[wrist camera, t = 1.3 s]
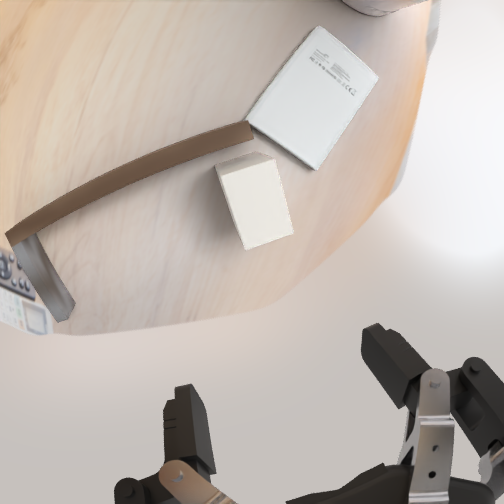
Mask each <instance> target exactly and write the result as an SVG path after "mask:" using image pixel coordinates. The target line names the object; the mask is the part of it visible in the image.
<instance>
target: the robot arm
mask: <svg viewBox="0 0 504 504" xmlns="http://www.w3.org/2000/svg"><path fill="white" fill-rule="evenodd" d="M342 1H343V2H344V3H346V4H347V5H349V6H350V7H352V8H353V9H355V10H357V11H359V12H361V13H364V14H367V15H372V16H382V15H386V14H388V13H391V12H395V11H397V10H399V9H402V8H405V7H408V6H411V5H414V4H417V3H421V2H424V1H427V0H342ZM361 354H362V358H363V360H364V362H365V363H366V365H367V366H368V367H369V369H370V370H371V371H372V373H373V374H374V376H375V377H376V378H377V380H378V381H379V383H380V384H381V385H382V387H383V388H384V390H385V391H386V392H387V394H388V395H389V397H390V398H391V399H392V400H393V402H394V404H395V405H396V406H397V408H398V409H400V408H402V407H403V406H405V405H406V406H407V408H408V413H407V421H406V428H405V435H404V441H403V446H402V449H401V452H400V455H399V458H398V463H397V465H389V466H385V465H384V463H382V464H380V465H378V466H376V467H374V468H372V469H370V470H367V471H365V472H363V473H361V474H360V475H358V476H357V477H356V478H354V479H353V480H352V481H350V482H349V483H347V484H346V485H345V486H343V487H342V488H340V489H338V490H333V491H327V492H320V493H313V494H308V495H305V496H302V497H299V498H296V499H292V500H289V501H286V504H495V500H496V499H497V498H499V497H500V496H501V495H502V494H503V493H504V383H503V382H502V381H501V380H500V378H499V377H498V376H497V375H496V374H495V373H494V372H493V370H492V369H491V368H490V367H489V366H488V365H487V364H486V363H485V361H483V360H482V359H480V358H478V357H471V358H468V359H467V360H466V361H465V362H464V364H463V366H462V367H461V368H458V369H455V370H451V371H447V372H444V371H443V370H440V369H432V368H431V367H430V366H429V365H428V364H427V363H426V362H425V360H424V359H423V358H422V357H421V356H420V355H419V354H418V353H417V352H416V351H415V349H414V348H413V347H411V345H410V344H409V343H408V342H406V340H405V339H404V338H403V337H402V336H401V334H400V333H398V332H396V331H394V330H392V329H389V330H387V331H386V330H385V329H384V328H383V327H382V326H381V325H380V324H379V323H376V324H374V325H371V326H369V327H367V328H364V329H363V331H362V344H361ZM450 413H451V414H452V416H453V417H454V418H455V420H456V421H457V423H458V424H459V426H460V427H461V428H462V430H463V431H464V433H465V434H466V436H467V438H468V439H469V441H470V442H471V444H472V445H473V447H474V448H475V450H476V451H477V453H478V455H479V456H480V458H481V459H480V462H479V470H478V472H479V474H480V475H481V482H475V481H470V480H465V479H460V478H455V477H451V476H450V474H451V466H452V456H453V444H454V420H453V419H451V418H450ZM163 418H164V419H163V420H164V424H163V425H164V452H165V461H164V464H163V466H162V467H161V468H160V470H159V471H158V472H157V473H156V474H154V475H152V476H149V477H147V478H144V479H141V480H139V481H138V480H136V479H133V478H124V479H121V480H120V481H119V482H118V483H117V484H116V486H115V489H114V498H115V504H237V503H236V502H235V501H233V500H232V499H230V498H229V497H228V496H226V495H225V494H224V493H222V492H221V491H219V490H218V489H217V488H216V487H214V486H213V485H212V484H211V480H210V475H212V474H216V468H215V463H214V458H213V452H212V446H211V440H210V433H209V427H208V420H207V413H206V409H205V406H204V404H203V402H202V400H201V398H200V397H199V395H198V393H197V392H196V390H195V388H194V387H193V385H192V384H188V385H183V386H178V387H175V399H172V400H168V401H167V403H166V405H165V408H164V410H163Z"/></svg>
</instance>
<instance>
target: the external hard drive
mask: <svg viewBox="0 0 504 504" xmlns="http://www.w3.org/2000/svg"><path fill="white" fill-rule="evenodd" d="M378 79H379V78H378V76H377V75H376V74H375V73H374V72H373V71H372V70H371V69H370V68H369V67H368V66H367V65H366V64H365V63H364V62H363V61H362V60H361V59H360V58H358V57H357V56H356V55H355V54H354V53H353V52H352V51H351V50H350V49H349V48H347V47H346V46H345V45H344V44H343V43H342V42H340V41H339V40H338V39H337V38H335V37H334V36H333V35H332V34H331V33H329V32H328V31H327V30H326V29H324V28H323V27H321V26H317V27H316V28H315V29H314V30H313V31H312V32H311V33H310V34H309V36H308V37H307V38H306V39H305V40H304V42H303V43H302V44H301V45H300V46H299V48H298V49H297V50H296V51H295V53H294V54H293V55H292V56H291V57H290V59H289V60H288V61H287V62H286V64H285V65H284V66H283V68H282V69H281V70H280V72H279V73H278V74H277V75H276V77H275V78H274V79H273V81H272V82H271V83H270V85H269V86H268V87H267V89H266V90H265V91H264V93H263V94H262V95H261V97H260V98H259V100H258V101H257V102H256V104H255V105H254V107H253V108H252V109H251V111H250V112H249V114H248V115H247V116H246V118H245V119H244V121H246V120H248V121H249V124H250V126H252V127H253V128H255V129H256V130H258V131H259V132H261V133H262V134H264V135H265V136H267V137H268V138H270V139H271V140H273V141H274V142H276V143H277V144H278V145H280V146H281V147H283V148H284V149H286V150H287V151H288V152H290V153H291V154H293V155H294V156H295V157H297V158H298V159H299V160H301V161H302V162H303V163H305V164H306V165H307V166H309V167H310V168H311V169H313V170H316V171H317V170H318V168H319V167H320V165H321V164H322V162H323V161H324V159H325V158H326V156H327V155H328V153H329V152H330V151H331V149H332V148H333V146H334V145H335V143H336V142H337V140H338V139H339V137H340V136H341V134H342V133H343V131H344V130H345V128H346V127H347V125H348V124H349V122H350V121H351V120H352V118H353V117H354V115H355V114H356V112H357V111H358V109H359V108H360V106H361V105H362V103H363V102H364V100H365V98H366V97H367V96H368V94H369V93H370V91H371V90H372V88H373V87H374V85H375V84H376V82H377V81H378Z"/></svg>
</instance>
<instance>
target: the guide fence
mask: <svg viewBox="0 0 504 504" xmlns="http://www.w3.org/2000/svg"><path fill="white" fill-rule="evenodd" d="M252 139H254V138H253V134H252V131H251V128H250V124H249V121H248V120H246V121H240V122H237V123H233V124H230V125H227V126H224V127H220V128H217V129H214V130H211V131H208V132H205V133H202V134H199V135H196V136H194V137H191V138H188V139H185V140H182V141H180V142H177V143H174V144H172V145H169V146H167V147H164V148H162V149H159V150H157V151H154V152H152V153H149V154H147V155H145V156H142V157H140V158H138V159H135V160H133V161H131V162H129V163H126V164H124V165H122V166H120V167H118V168H116V169H113V170H111V171H109V172H107V173H105V174H103V175H101V176H99V177H97V178H95V179H93V180H91V181H89V182H87V183H85V184H83V185H82V186H80V187H78V188H76V189H74V190H72V191H70V192H69V193H67V194H65V195H63V196H62V197H60V198H58V199H56V200H55V201H53V202H51V203H49V204H48V205H46V206H44V207H43V208H41V209H40V210H38V211H36V212H35V213H33V214H32V215H30V216H29V217H27V218H25V219H24V220H22V221H21V222H19V223H18V224H17V225H15V226H14V227H13V228H11V229H10V230H9V231H7V232H6V233H5V235H6V237H7V239H8V241H9V243H10V245H11V247H12V249H13V251H14V253H15V255H16V257H17V259H18V260H19V262H20V264H21V266H22V268H23V269H24V271H25V273H26V275H27V276H28V278H29V280H30V281H31V283H32V285H33V286H34V288H35V290H36V291H37V293H38V294H39V296H40V297H41V299H42V301H43V302H44V304H45V305H46V307H47V308H48V309H49V311H50V312H51V314H52V315H53V317H54V318H55V320H56V321H57V322H58V323H59V322H61V321H64V320H67V319H68V318H69V315H70V313H71V311H72V309H73V307H74V305H75V302H74V300H73V298H72V297H71V295H70V294H69V292H68V291H67V289H66V287H65V286H64V284H63V283H62V281H61V279H60V278H59V276H58V274H57V272H56V271H55V269H54V267H53V265H52V264H51V262H50V260H49V258H48V256H47V255H46V253H45V251H44V249H43V247H42V245H41V243H40V241H39V239H38V237H37V235H36V232H38V231H39V230H41V229H43V228H44V227H46V226H48V225H50V224H51V223H53V222H55V221H57V220H59V219H60V218H62V217H64V216H66V215H68V214H70V213H72V212H73V211H75V210H77V209H79V208H81V207H83V206H85V205H87V204H89V203H91V202H93V201H95V200H97V199H99V198H101V197H103V196H105V195H108V194H110V193H112V192H114V191H116V190H118V189H121V188H123V187H125V186H127V185H129V184H132V183H134V182H136V181H139V180H141V179H143V178H146V177H148V176H150V175H153V174H155V173H158V172H160V171H163V170H165V169H168V168H170V167H173V166H175V165H178V164H181V163H183V162H186V161H189V160H192V159H194V158H197V157H200V156H203V155H206V154H208V153H211V152H214V151H217V150H220V149H223V148H226V147H229V146H233V145H236V144H239V143H242V142H246V141H249V140H252Z"/></svg>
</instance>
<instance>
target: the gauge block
mask: <svg viewBox="0 0 504 504" xmlns="http://www.w3.org/2000/svg"><path fill="white" fill-rule="evenodd" d="M214 166H215V169H216V172H217V175H218V178H219V181H220V184H221V187H222V190H223V193H224V195H225V198H226V201H227V204H228V207H229V210H230V213H231V216H232V219H233V222H234V225H235V227H236V230H237V232H238V234H239V237H240V239H241V241H242V244H243V246H244V248H245V250H248V249H251V248H254V247H257V246H260V245H262V244H265V243H268V242H271V241H274V240H276V239H279V238H282V237H285V236H288V235H291V234H293V233H294V231H293V227H292V223H291V218H290V214H289V210H288V206H287V202H286V199H285V195H284V191H283V187H282V183H281V179H280V176H279V172H278V168H277V164H276V161H275V159H274V158H271V157H269V156H267V155H264V154H262V153H259V152H253V153H250V154H247V155H244V156H241V157H237V158H234V159H231V160H228V161H225V162H222V163H219V164H216V165H214Z"/></svg>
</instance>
